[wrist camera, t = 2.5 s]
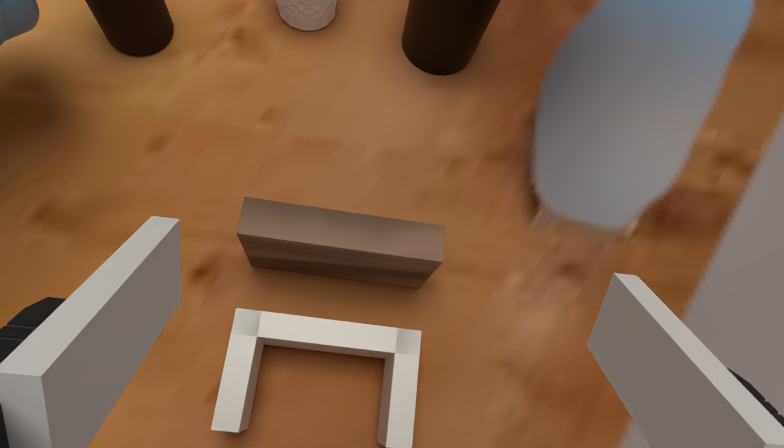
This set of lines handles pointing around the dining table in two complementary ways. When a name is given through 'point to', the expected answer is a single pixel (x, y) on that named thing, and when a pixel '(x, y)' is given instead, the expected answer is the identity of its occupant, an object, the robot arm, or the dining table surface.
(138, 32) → the vinegar
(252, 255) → the backstop wall
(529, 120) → the dining table surface
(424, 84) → the dining table surface
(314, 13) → the white cup
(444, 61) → the water bottle
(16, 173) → the dining table surface
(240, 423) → the frame
